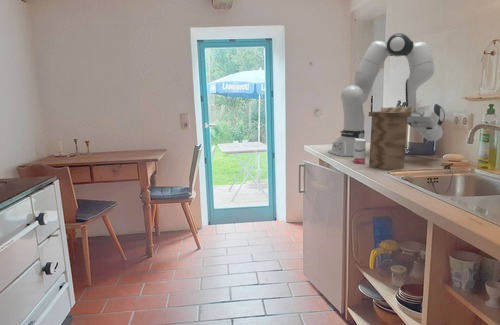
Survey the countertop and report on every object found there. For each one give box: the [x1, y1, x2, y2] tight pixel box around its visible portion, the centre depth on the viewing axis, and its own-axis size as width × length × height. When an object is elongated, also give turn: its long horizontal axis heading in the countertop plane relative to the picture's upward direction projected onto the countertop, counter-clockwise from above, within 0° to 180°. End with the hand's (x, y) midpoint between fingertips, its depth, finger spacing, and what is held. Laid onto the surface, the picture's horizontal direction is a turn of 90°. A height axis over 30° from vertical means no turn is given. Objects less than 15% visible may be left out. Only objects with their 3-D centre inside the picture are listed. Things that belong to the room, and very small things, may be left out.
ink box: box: [353, 138, 367, 164], centre depth 178 cm, size 9×5×12 cm, turn 168°
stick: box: [380, 106, 413, 112], centre depth 164 cm, size 20×2×2 cm, turn 120°
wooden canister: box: [368, 110, 411, 171], centre depth 164 cm, size 12×14×26 cm
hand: (406, 108), depth 167 cm, fingers open, 8 cm apart
